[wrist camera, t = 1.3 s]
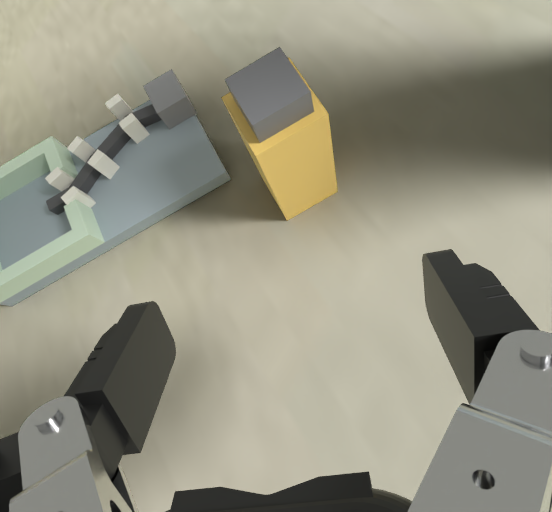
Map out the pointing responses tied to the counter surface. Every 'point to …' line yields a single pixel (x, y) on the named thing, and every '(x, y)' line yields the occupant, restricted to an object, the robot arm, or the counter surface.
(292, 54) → the counter surface
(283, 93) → the block
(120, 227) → the board
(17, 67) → the counter surface
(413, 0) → the counter surface
